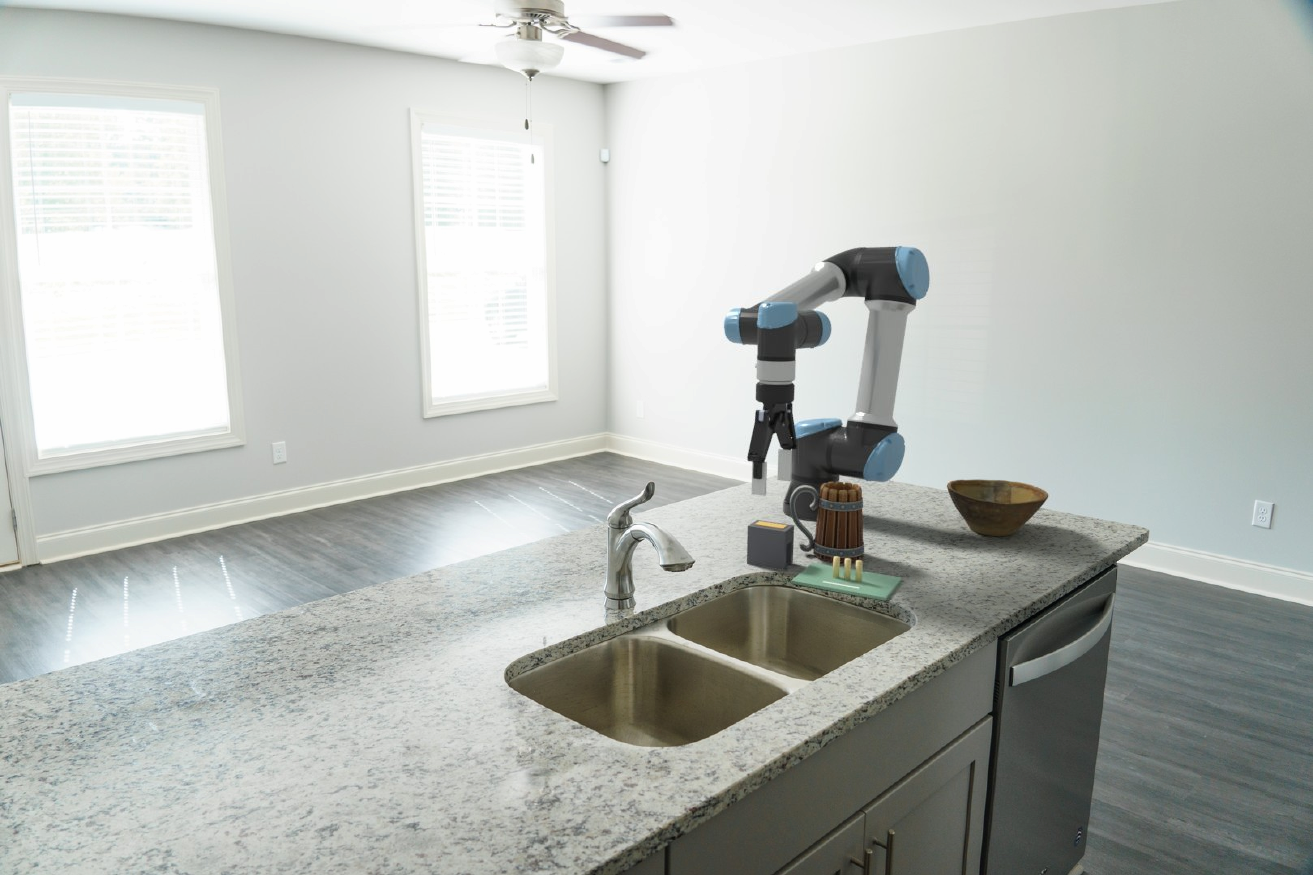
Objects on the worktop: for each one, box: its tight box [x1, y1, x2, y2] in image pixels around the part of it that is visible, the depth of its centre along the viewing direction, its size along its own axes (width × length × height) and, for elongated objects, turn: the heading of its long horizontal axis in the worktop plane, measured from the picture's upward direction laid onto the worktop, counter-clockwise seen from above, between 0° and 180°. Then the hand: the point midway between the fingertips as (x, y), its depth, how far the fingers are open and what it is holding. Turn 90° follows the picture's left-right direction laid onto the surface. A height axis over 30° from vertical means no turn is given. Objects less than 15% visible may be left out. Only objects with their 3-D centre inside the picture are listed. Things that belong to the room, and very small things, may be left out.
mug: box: [790, 481, 865, 564], centre depth 184 cm, size 16×11×15 cm
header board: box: [790, 556, 903, 602], centre depth 169 cm, size 12×18×5 cm, turn 61°
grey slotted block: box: [746, 519, 795, 571], centre depth 179 cm, size 5×8×8 cm, turn 61°
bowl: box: [946, 479, 1049, 537], centre depth 202 cm, size 22×23×10 cm
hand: (771, 487), depth 177 cm, fingers open, 13 cm apart
